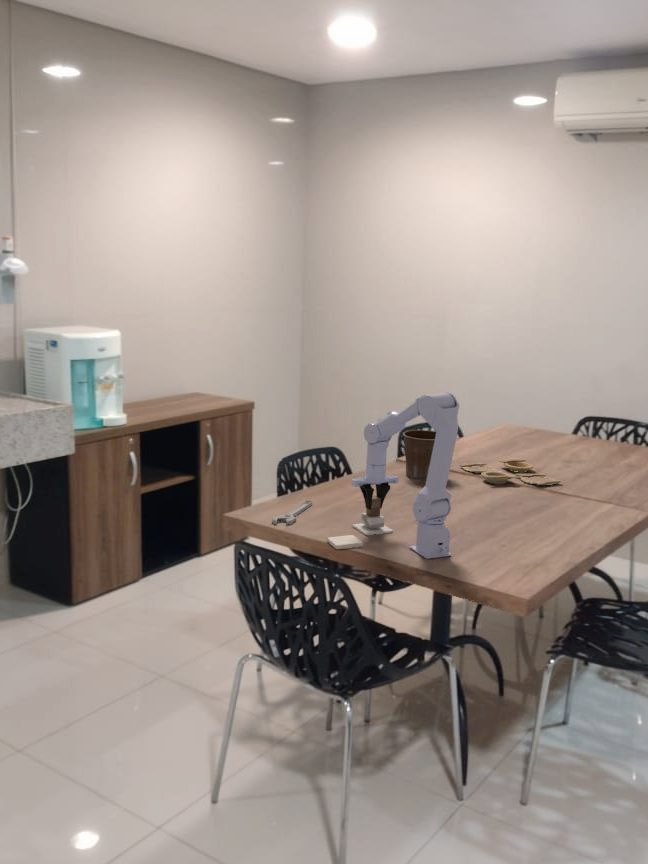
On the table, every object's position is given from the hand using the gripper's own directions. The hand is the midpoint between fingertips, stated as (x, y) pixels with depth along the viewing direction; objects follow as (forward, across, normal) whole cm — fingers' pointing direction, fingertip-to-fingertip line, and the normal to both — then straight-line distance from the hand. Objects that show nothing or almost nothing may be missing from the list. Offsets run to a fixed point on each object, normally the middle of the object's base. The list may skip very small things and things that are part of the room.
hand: (373, 508), depth 248 cm
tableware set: (+7, -81, -42) cm, 92 cm away
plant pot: (+7, -48, -51) cm, 70 cm away
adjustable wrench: (+7, +16, -21) cm, 27 cm away
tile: (+6, +10, +9) cm, 15 cm away
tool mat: (+7, 0, 0) cm, 7 cm away
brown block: (+5, 0, 0) cm, 5 cm away
